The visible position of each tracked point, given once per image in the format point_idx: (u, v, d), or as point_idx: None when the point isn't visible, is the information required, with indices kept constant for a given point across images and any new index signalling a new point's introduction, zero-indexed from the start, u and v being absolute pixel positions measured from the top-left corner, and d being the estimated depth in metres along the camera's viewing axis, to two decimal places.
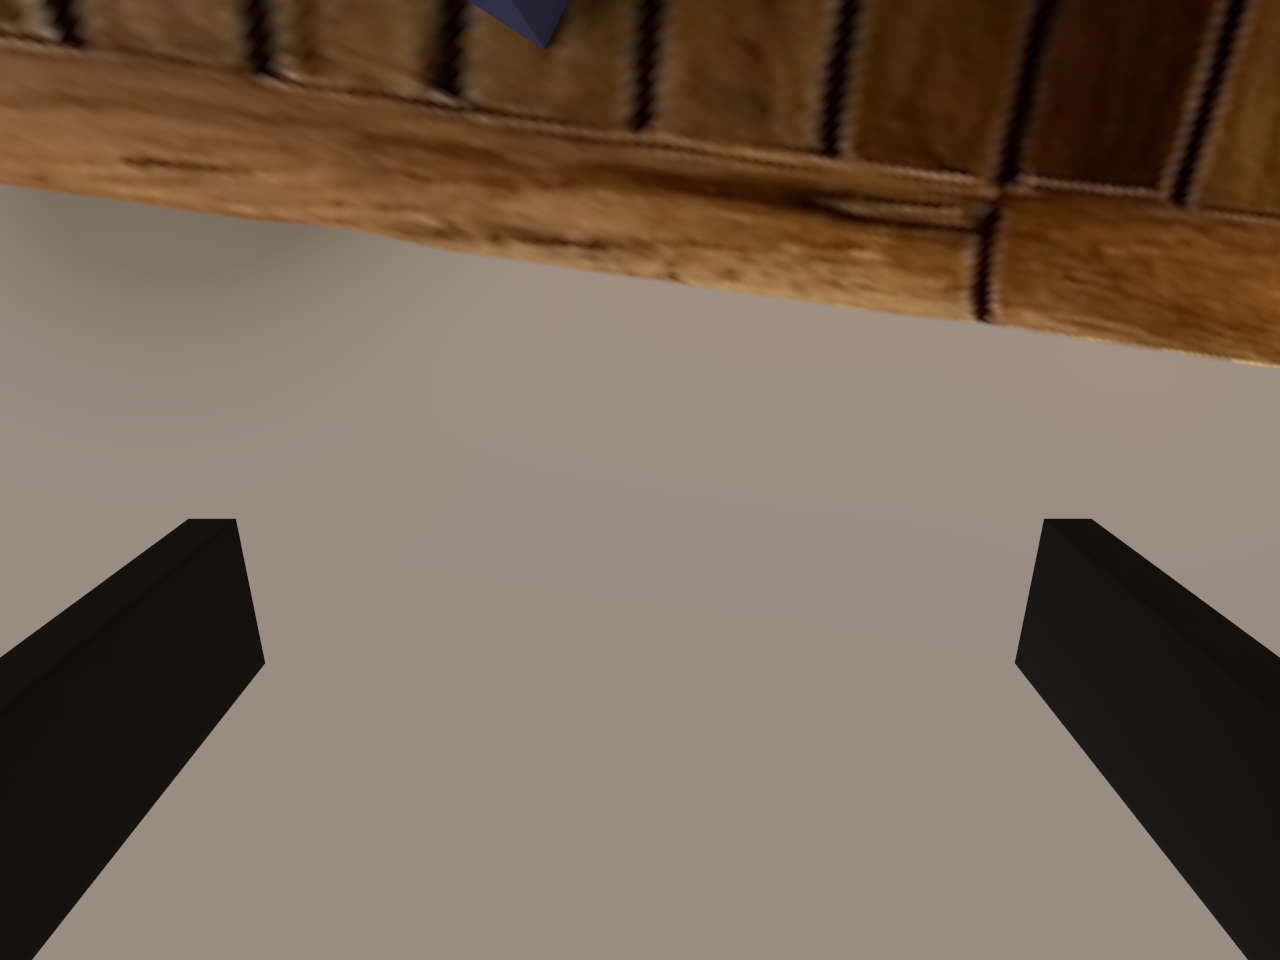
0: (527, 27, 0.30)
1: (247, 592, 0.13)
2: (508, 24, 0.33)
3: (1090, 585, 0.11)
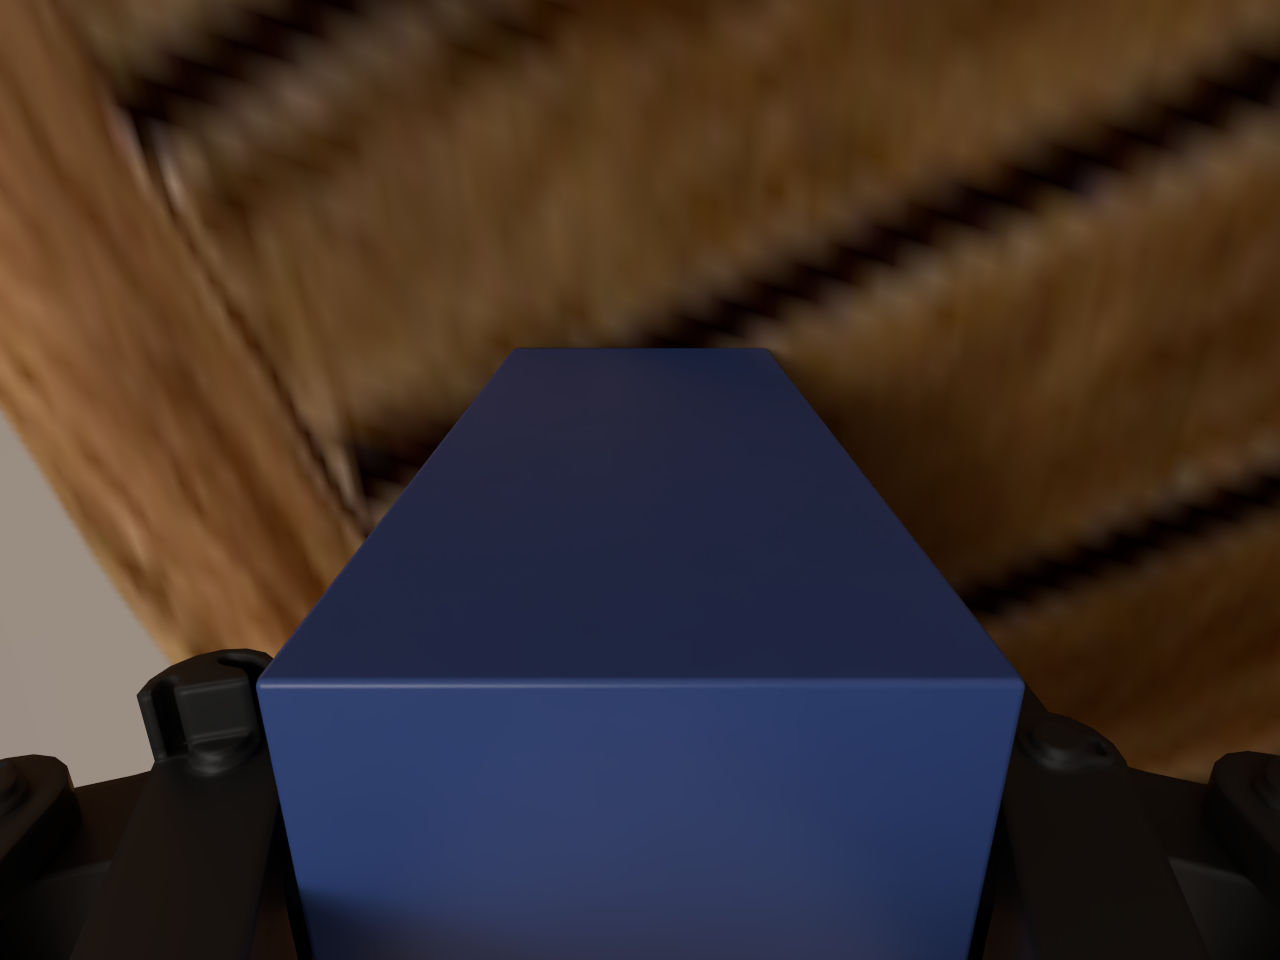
0: None
1: None
2: None
3: None
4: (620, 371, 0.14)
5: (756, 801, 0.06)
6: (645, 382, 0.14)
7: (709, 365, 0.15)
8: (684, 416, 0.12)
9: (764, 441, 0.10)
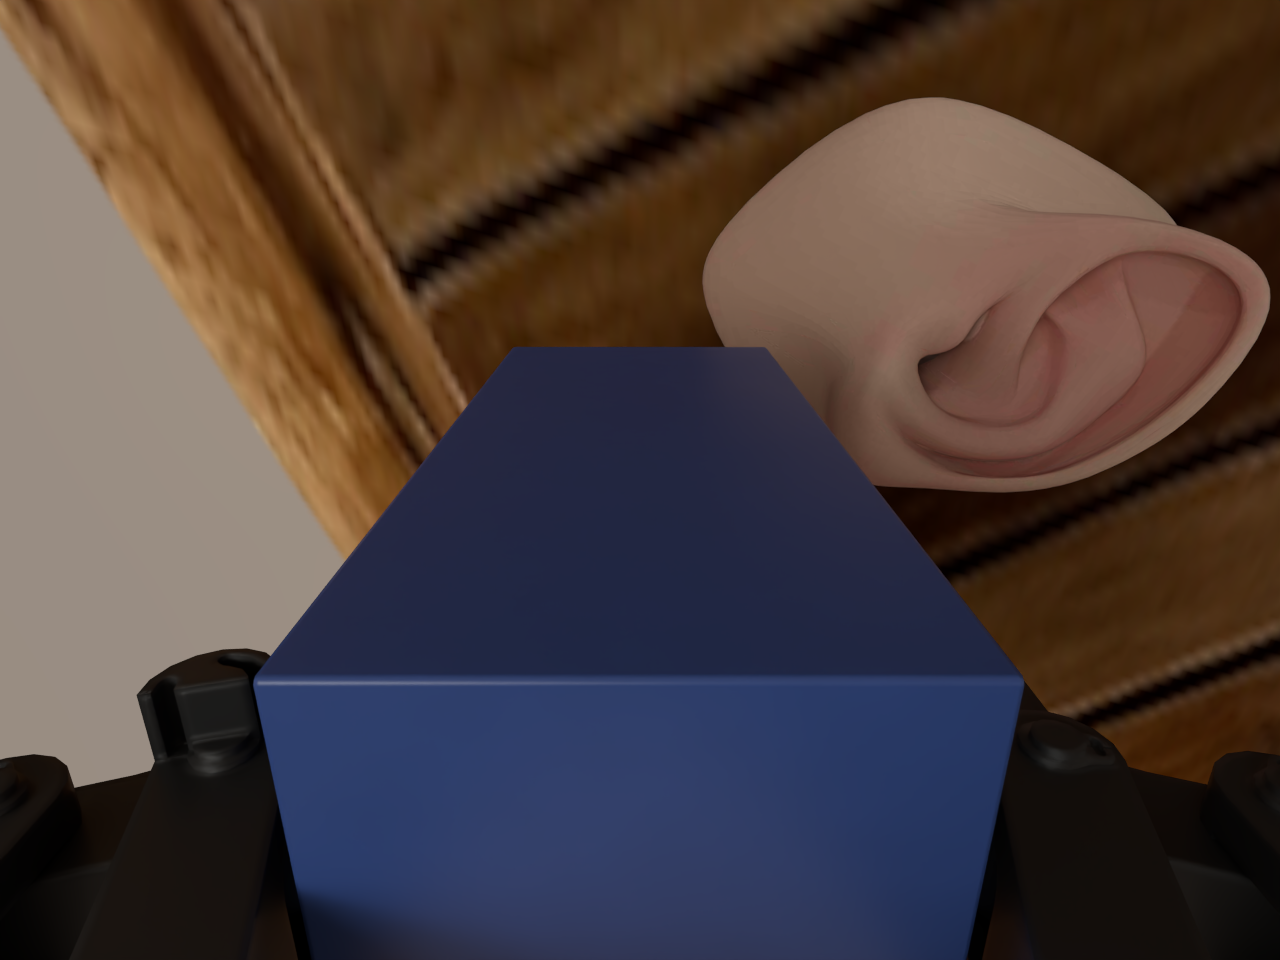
0: None
1: None
2: None
3: None
4: (619, 370, 0.14)
5: (755, 798, 0.06)
6: (644, 381, 0.14)
7: (708, 364, 0.15)
8: (683, 414, 0.12)
9: (763, 438, 0.10)
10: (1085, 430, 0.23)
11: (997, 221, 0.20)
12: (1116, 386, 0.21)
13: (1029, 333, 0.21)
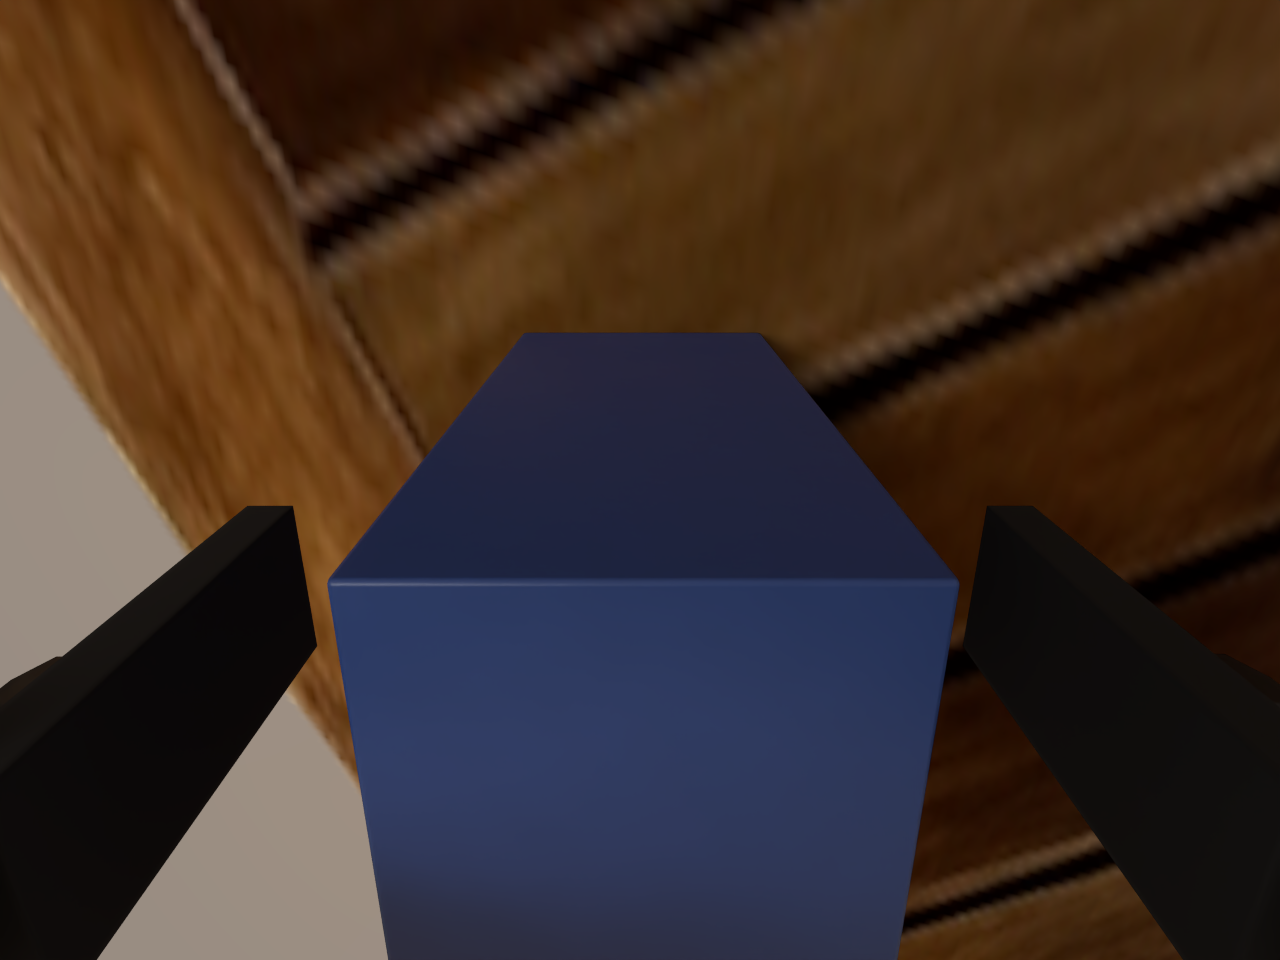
0: None
1: (302, 577, 0.13)
2: None
3: (1025, 568, 0.12)
4: (623, 352, 0.16)
5: (738, 686, 0.07)
6: (646, 361, 0.15)
7: (706, 347, 0.16)
8: (682, 388, 0.13)
9: (753, 408, 0.12)
10: None
11: None
12: None
13: None
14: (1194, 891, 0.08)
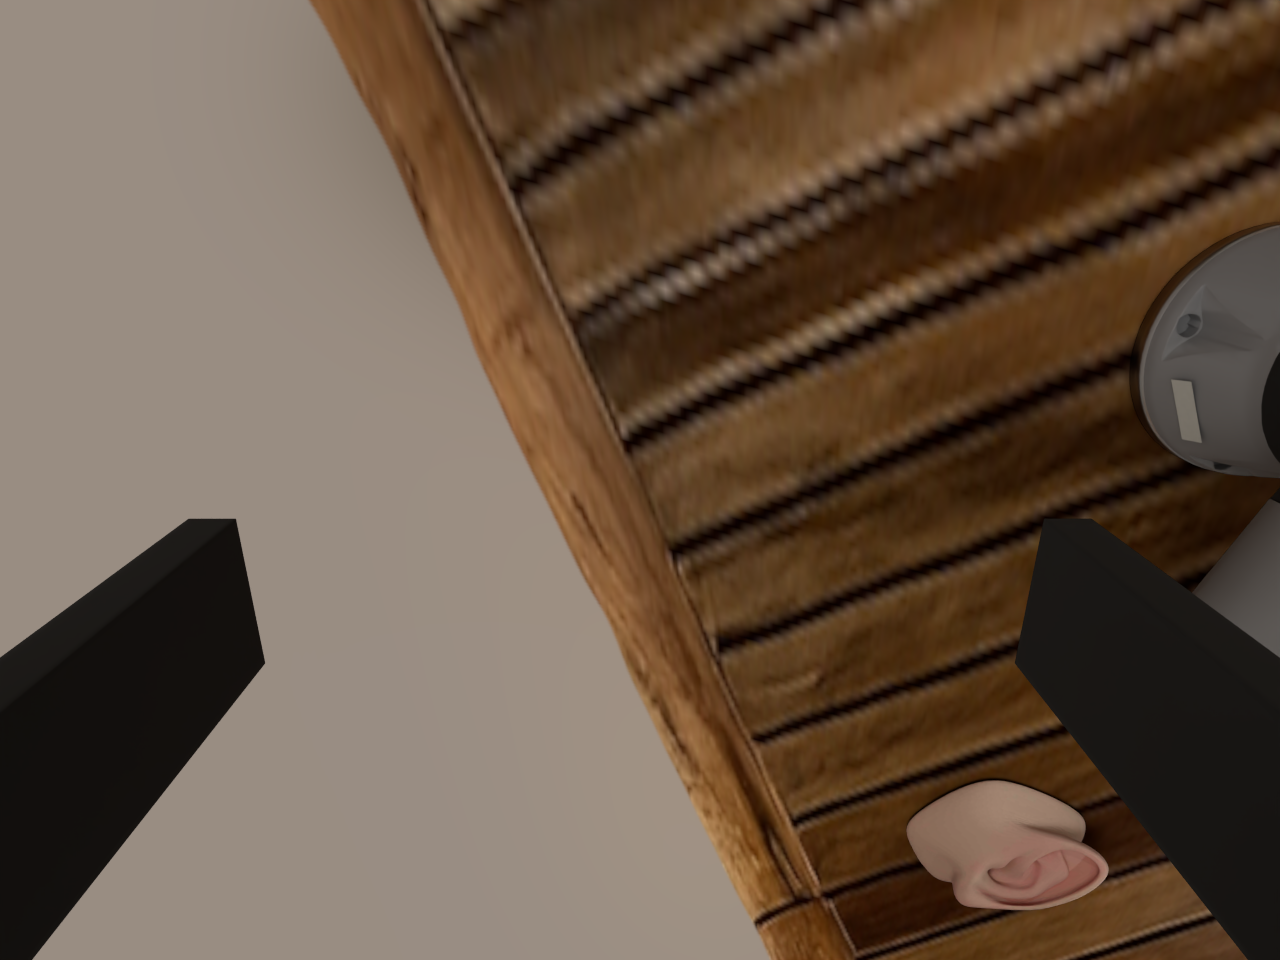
0: None
1: (247, 592, 0.13)
2: None
3: (1091, 585, 0.11)
4: None
5: None
6: None
7: None
8: None
9: None
10: None
11: (1017, 832, 0.59)
12: (1058, 880, 0.60)
13: (1027, 867, 0.59)
14: None
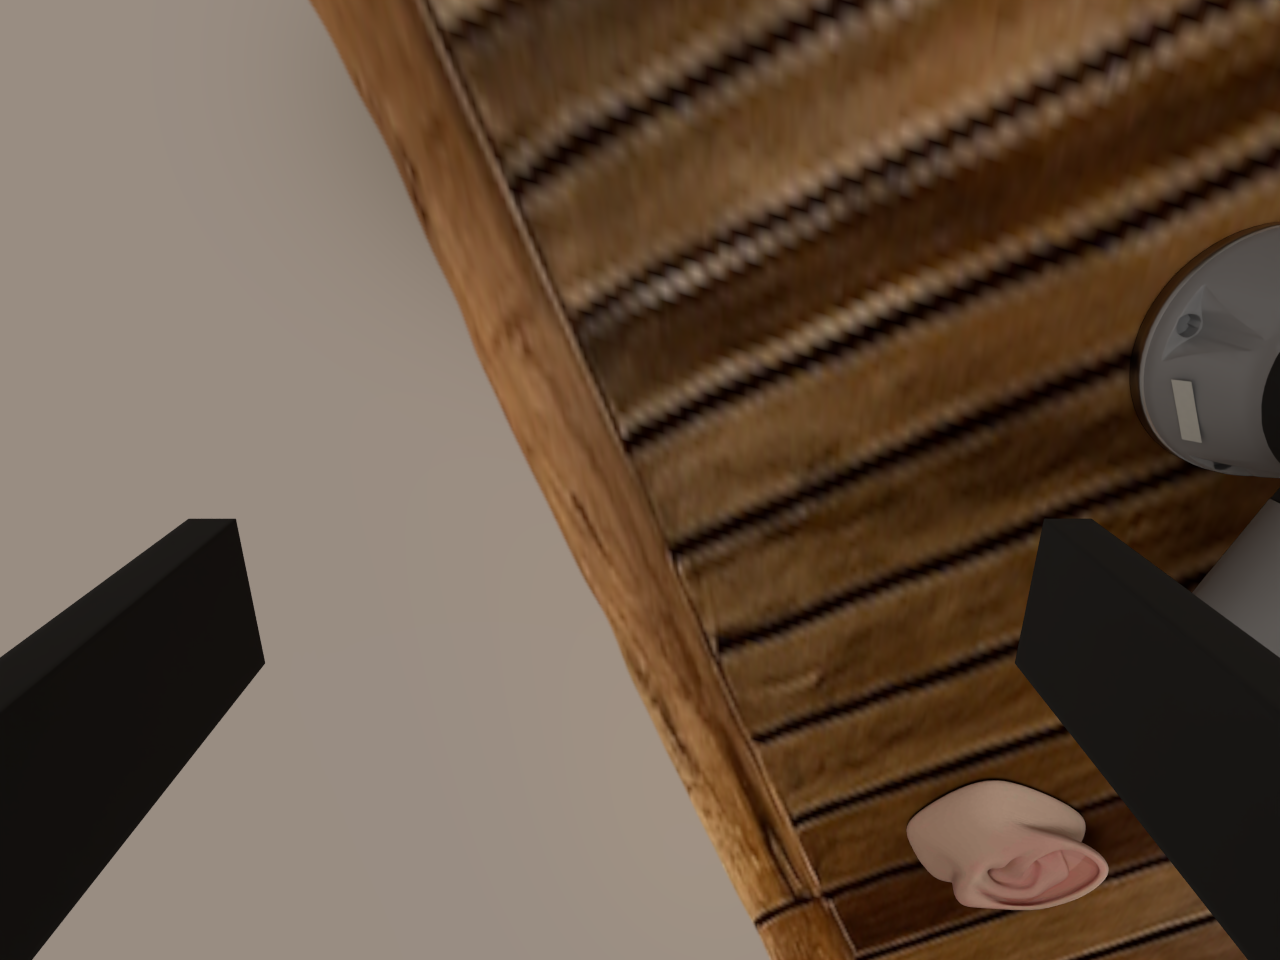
0: None
1: (247, 592, 0.13)
2: None
3: (1091, 585, 0.11)
4: None
5: None
6: None
7: None
8: None
9: None
10: None
11: (1017, 832, 0.59)
12: (1058, 880, 0.60)
13: (1027, 867, 0.59)
14: None
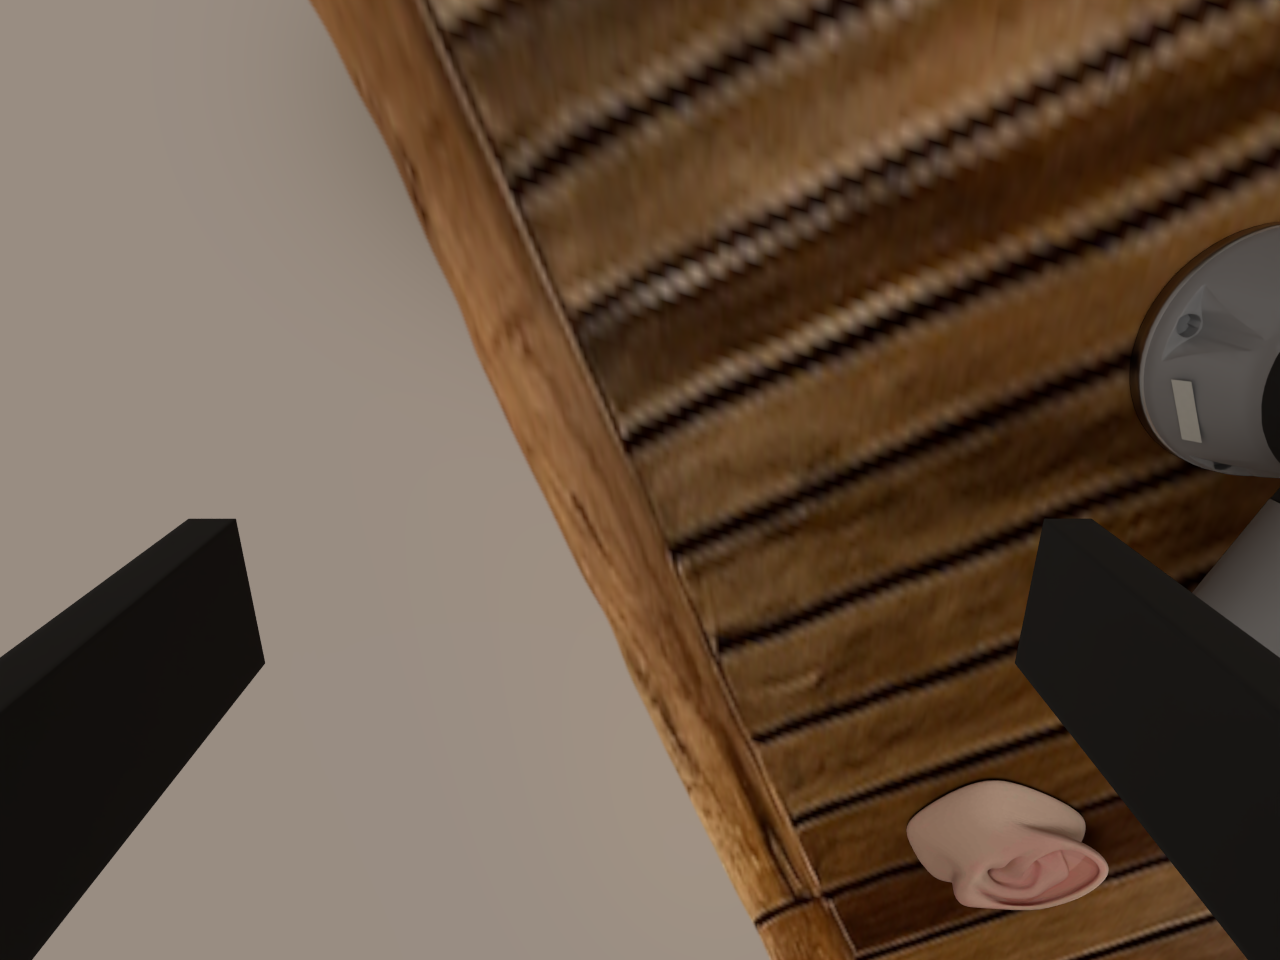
0: None
1: (247, 592, 0.13)
2: None
3: (1091, 585, 0.11)
4: None
5: None
6: None
7: None
8: None
9: None
10: None
11: (1017, 832, 0.59)
12: (1058, 880, 0.60)
13: (1027, 867, 0.59)
14: None
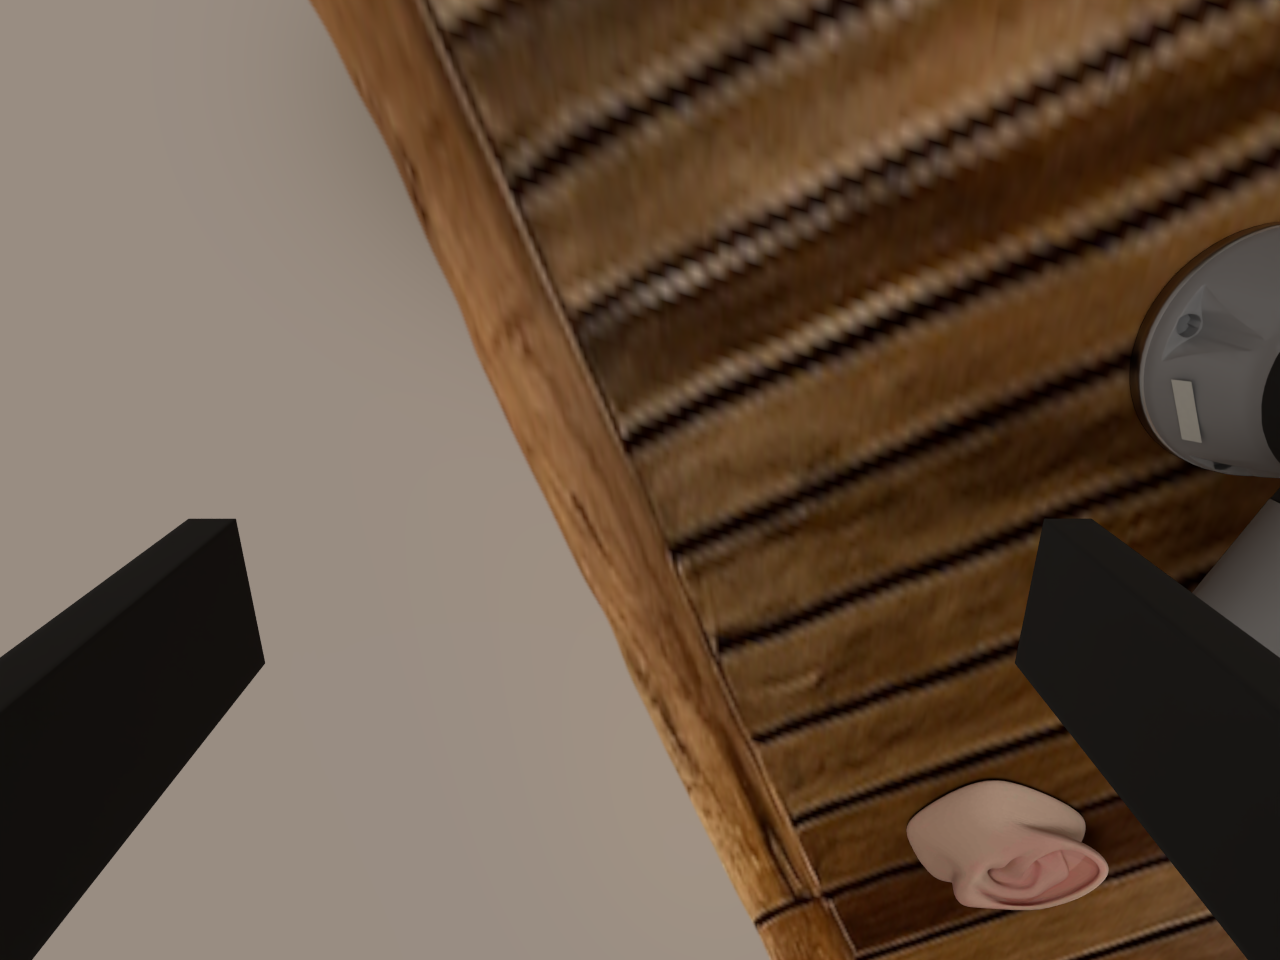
0: None
1: (247, 592, 0.13)
2: None
3: (1091, 585, 0.11)
4: None
5: None
6: None
7: None
8: None
9: None
10: None
11: (1017, 832, 0.59)
12: (1058, 880, 0.60)
13: (1027, 867, 0.59)
14: None
